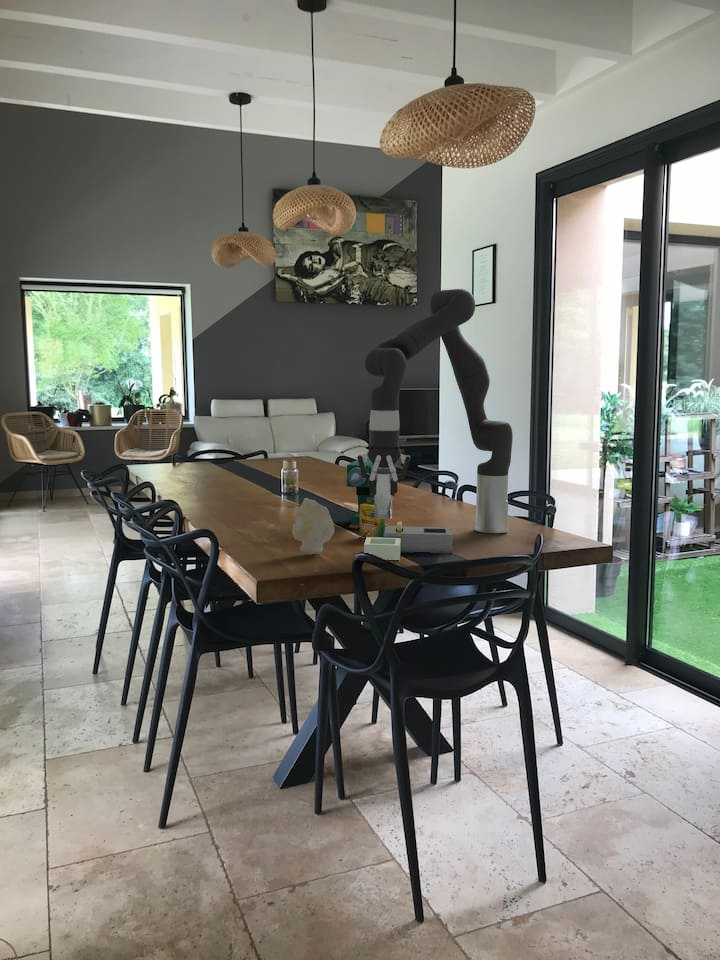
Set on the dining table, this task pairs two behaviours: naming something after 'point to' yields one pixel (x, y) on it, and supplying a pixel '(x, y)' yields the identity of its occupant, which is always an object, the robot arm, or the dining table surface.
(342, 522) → the dining table surface
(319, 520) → the stone tool
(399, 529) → the wooden block
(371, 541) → the hollow square frame block
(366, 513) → the crayon box
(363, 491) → the power tool
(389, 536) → the socket block
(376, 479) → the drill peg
